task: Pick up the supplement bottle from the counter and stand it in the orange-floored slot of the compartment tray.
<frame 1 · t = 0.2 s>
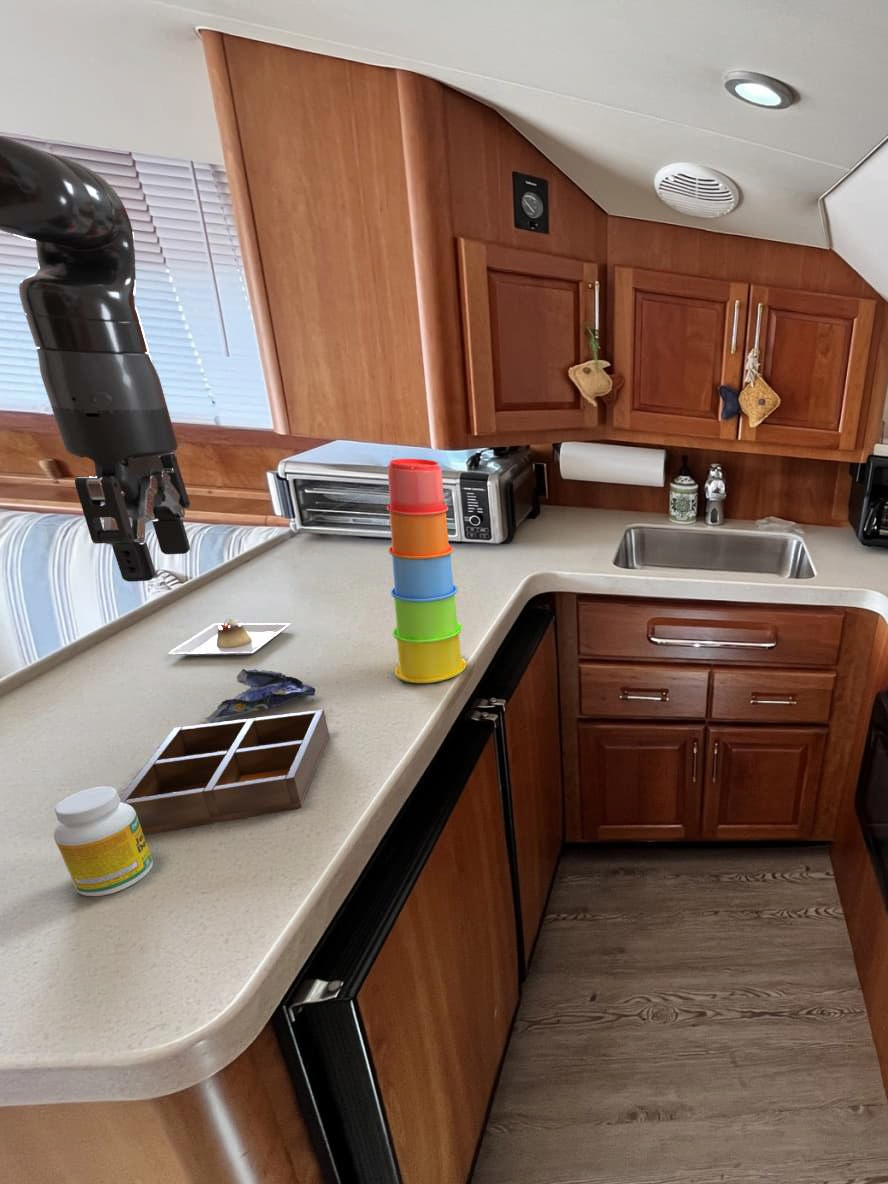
hand: (159, 565, 65), 29 cm above the table, tool pointing down, fingers open, 8 cm apart
snack package: (266, 706, 92), on the table
stacking cups: (432, 671, 106), on the table
compartment tray: (240, 781, 77), on the table
dessert: (234, 644, 108), on the table
supplement bottle: (117, 878, 63), on the table
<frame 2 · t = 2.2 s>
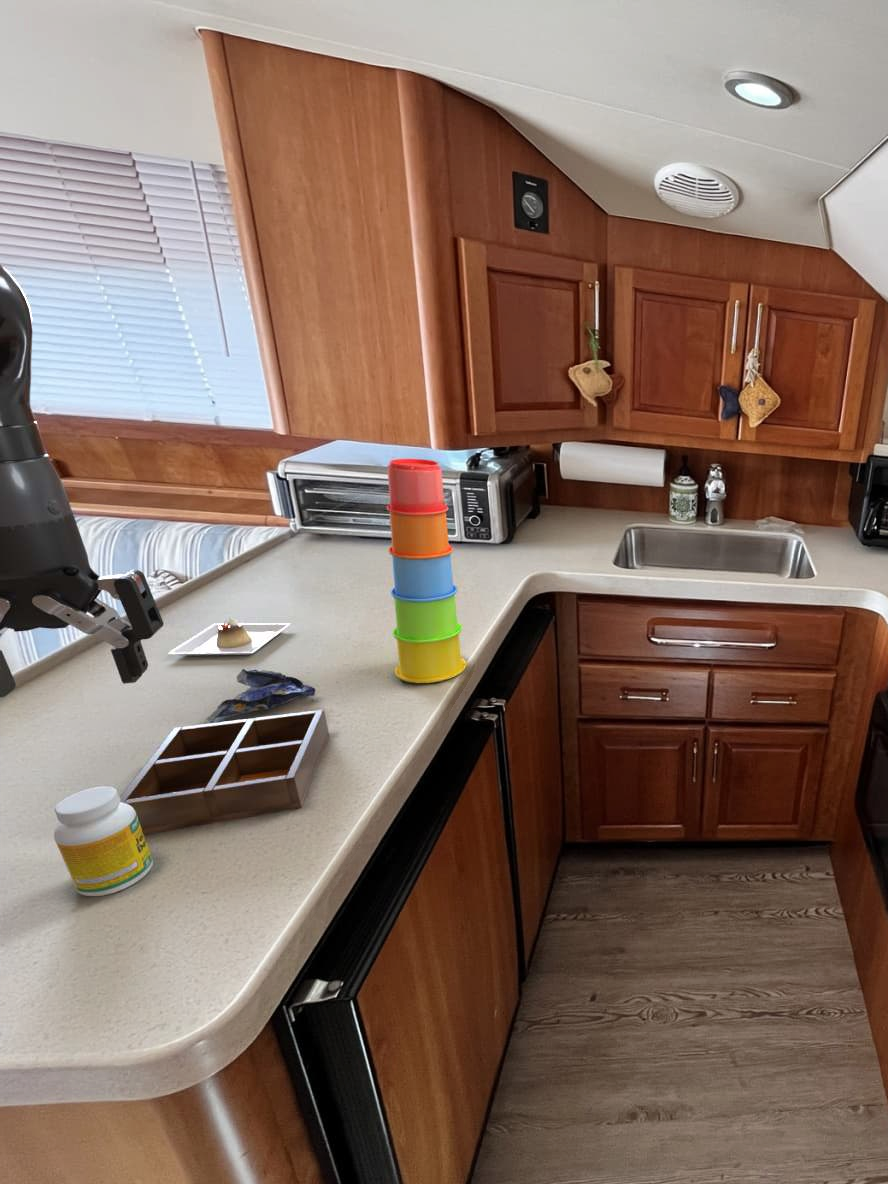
hand: (70, 686, 58), 21 cm above the table, tool pointing down, fingers open, 8 cm apart
nothing on the table moved.
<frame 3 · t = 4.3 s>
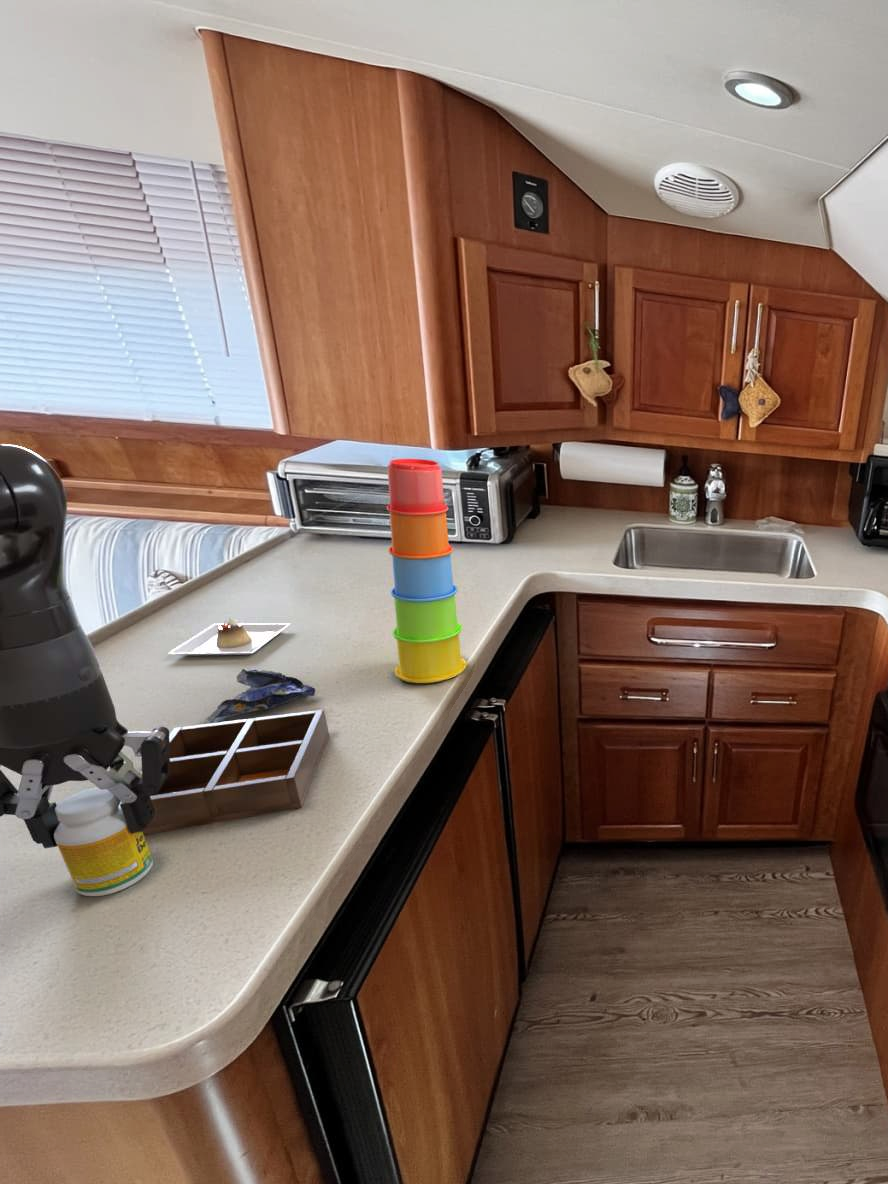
hand: (99, 833, 61), 5 cm above the table, tool pointing down, fingers closed on supplement bottle, 5 cm apart
supplement bottle: (117, 878, 63), on the table, touching gripper
everything else where it was.
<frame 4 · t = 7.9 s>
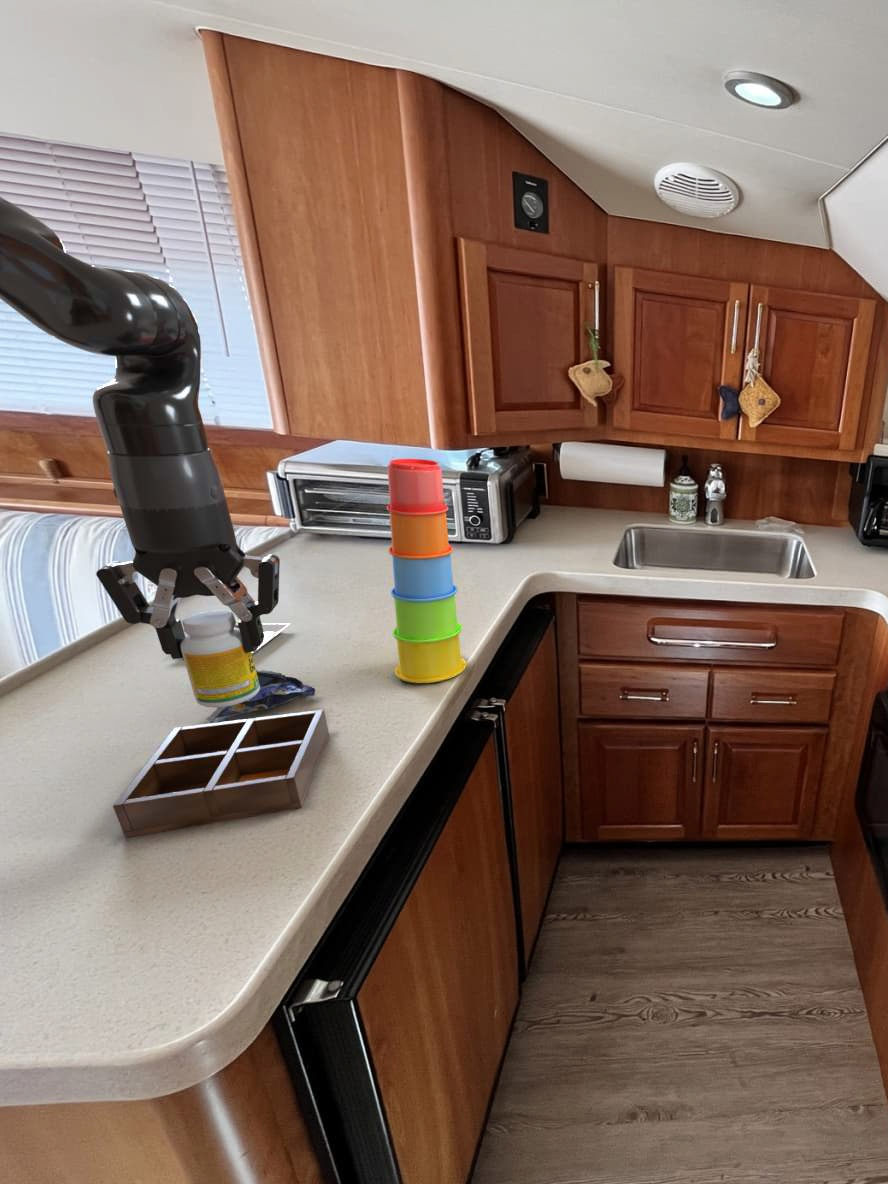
hand: (217, 651, 68), 19 cm above the table, tool pointing down, fingers closed on supplement bottle, 5 cm apart
supplement bottle: (230, 698, 70), point 14 cm above the table, touching gripper
everything else where it was.
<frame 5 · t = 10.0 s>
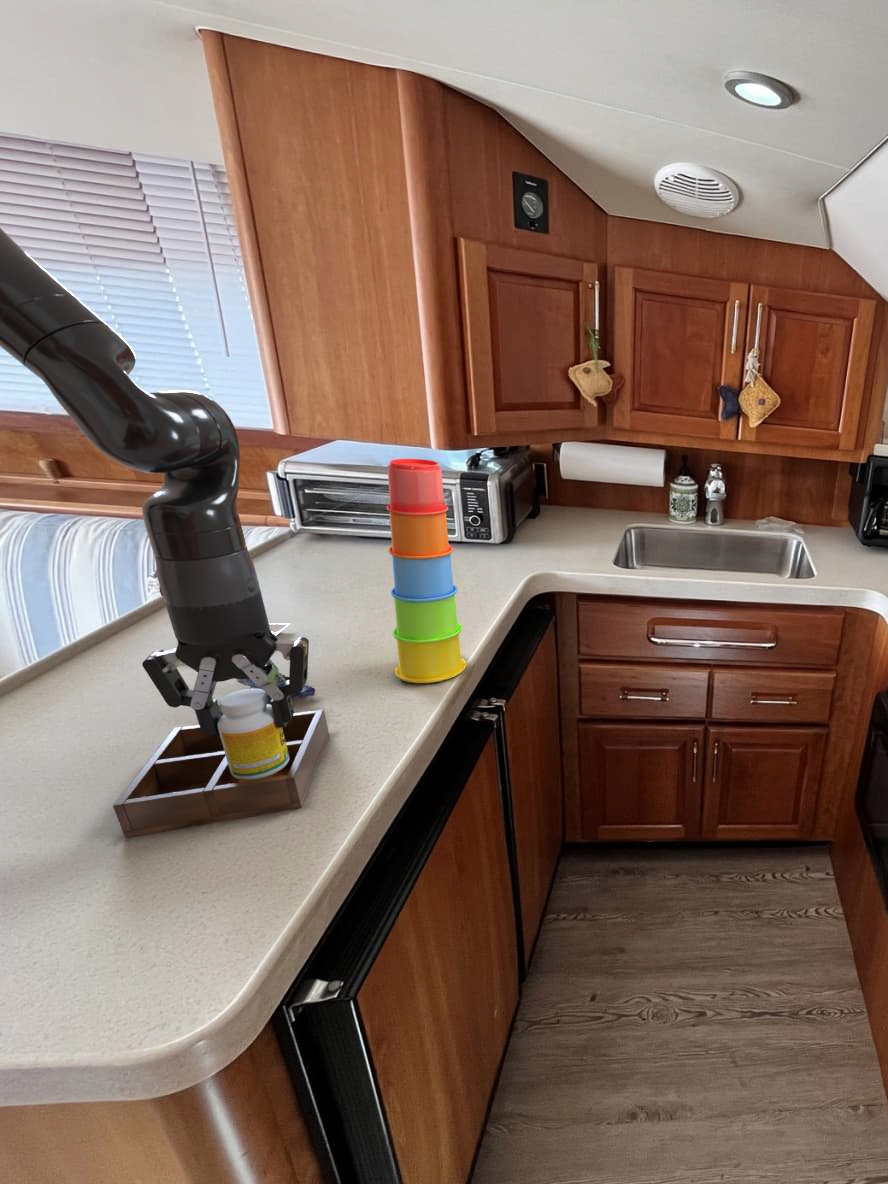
hand: (250, 727, 72), 9 cm above the table, tool pointing down, fingers closed on supplement bottle, 5 cm apart
supplement bottle: (262, 769, 75), point 3 cm above the table, touching gripper
everything else where it was.
when the fingers open (6 cm above the table, at t = 11.3 s): supplement bottle stays where it is, resting on compartment tray.
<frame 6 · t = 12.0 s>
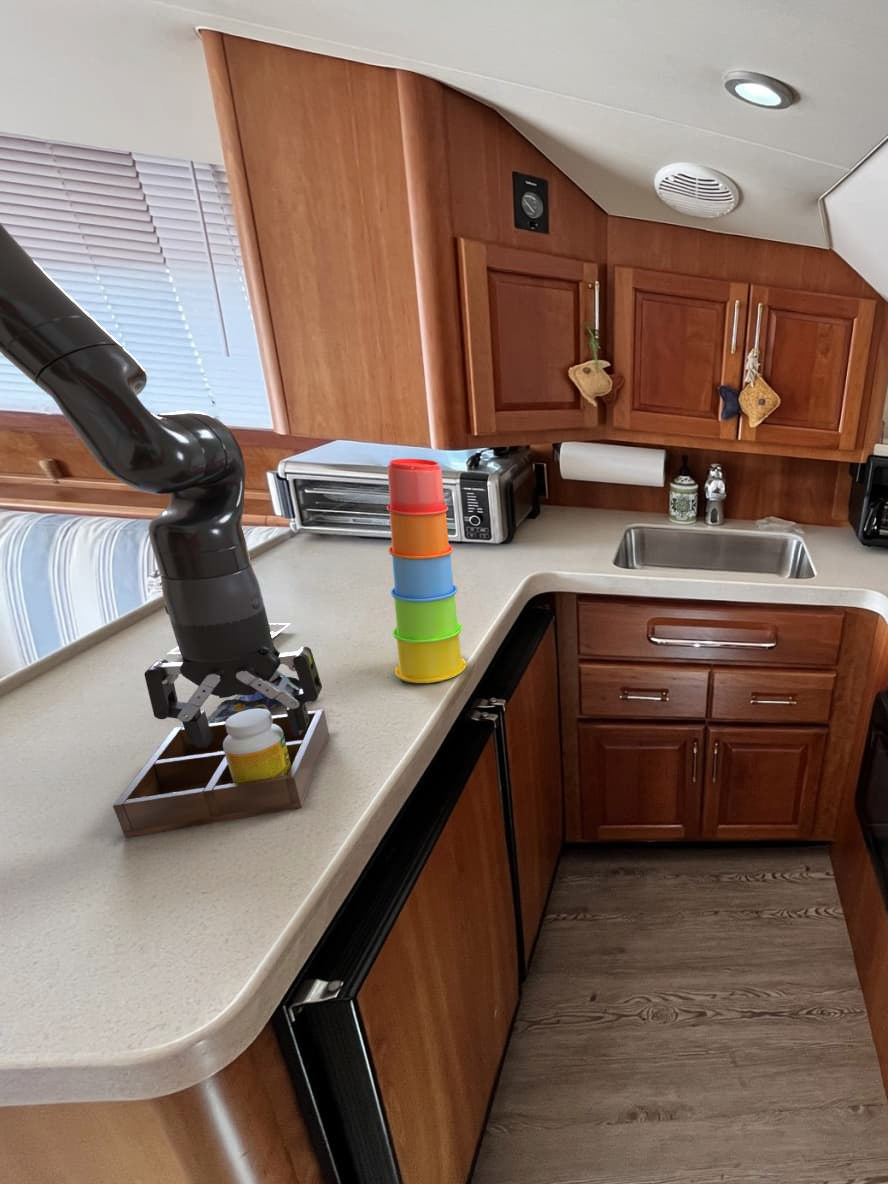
hand: (253, 738, 73), 8 cm above the table, tool pointing down, fingers open, 8 cm apart
supplement bottle: (266, 787, 75), point 1 cm above the table, touching compartment tray
everything else where it was.
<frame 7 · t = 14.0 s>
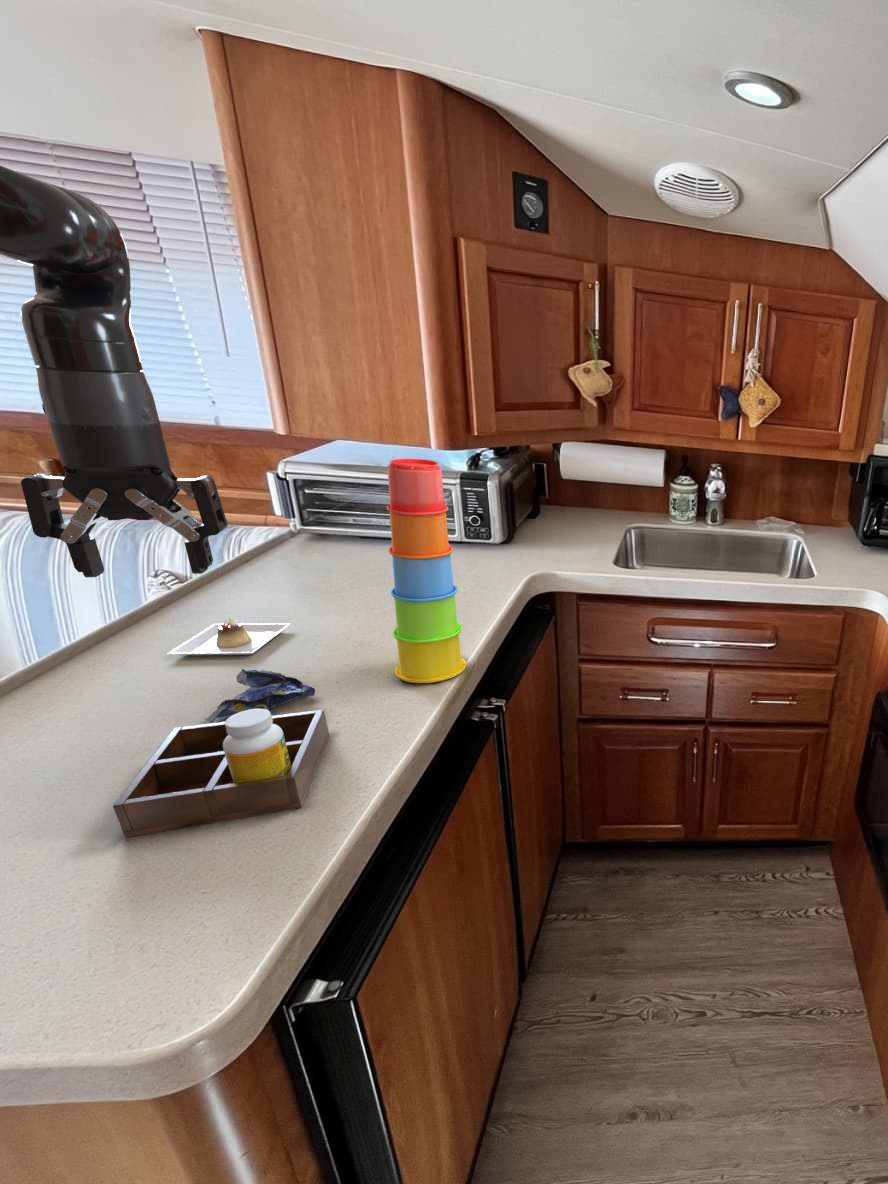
hand: (149, 573, 68), 27 cm above the table, tool pointing down, fingers open, 8 cm apart
nothing on the table moved.
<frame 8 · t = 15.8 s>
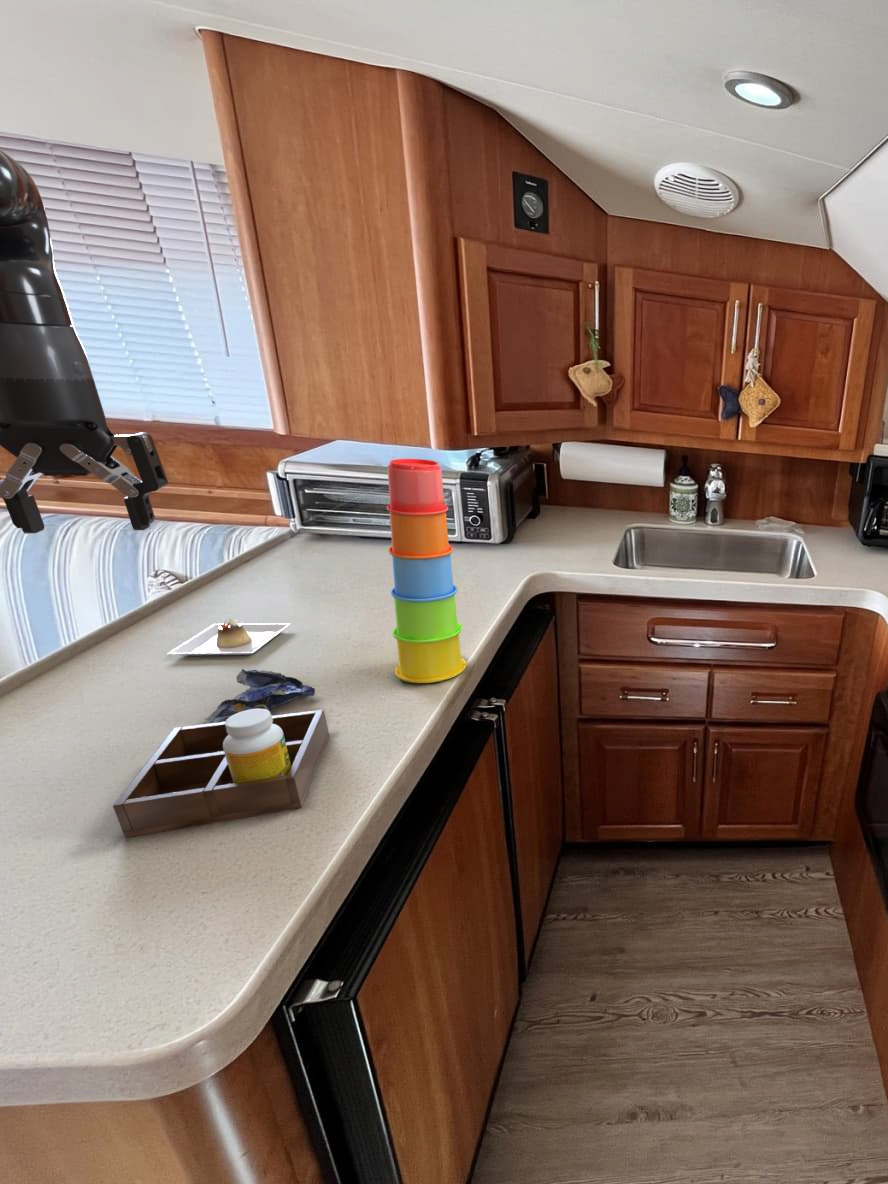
hand: (89, 530, 69), 30 cm above the table, tool pointing down, fingers open, 8 cm apart
nothing on the table moved.
at the end: supplement bottle 0.1 cm from the target spot in the compartment tray, point 0.8 cm above the compartment tray's base; supplement bottle tilted 0°; the gripper is holding nothing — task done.
